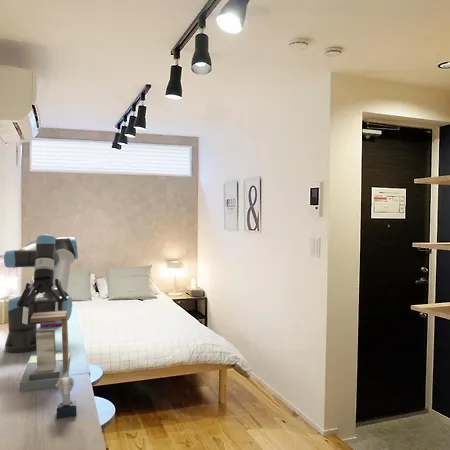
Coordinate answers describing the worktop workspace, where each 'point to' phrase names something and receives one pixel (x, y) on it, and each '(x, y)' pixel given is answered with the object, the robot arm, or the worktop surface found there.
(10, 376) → the worktop surface
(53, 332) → the cream block
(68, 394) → the watch
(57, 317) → the walnut tunnel
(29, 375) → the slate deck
